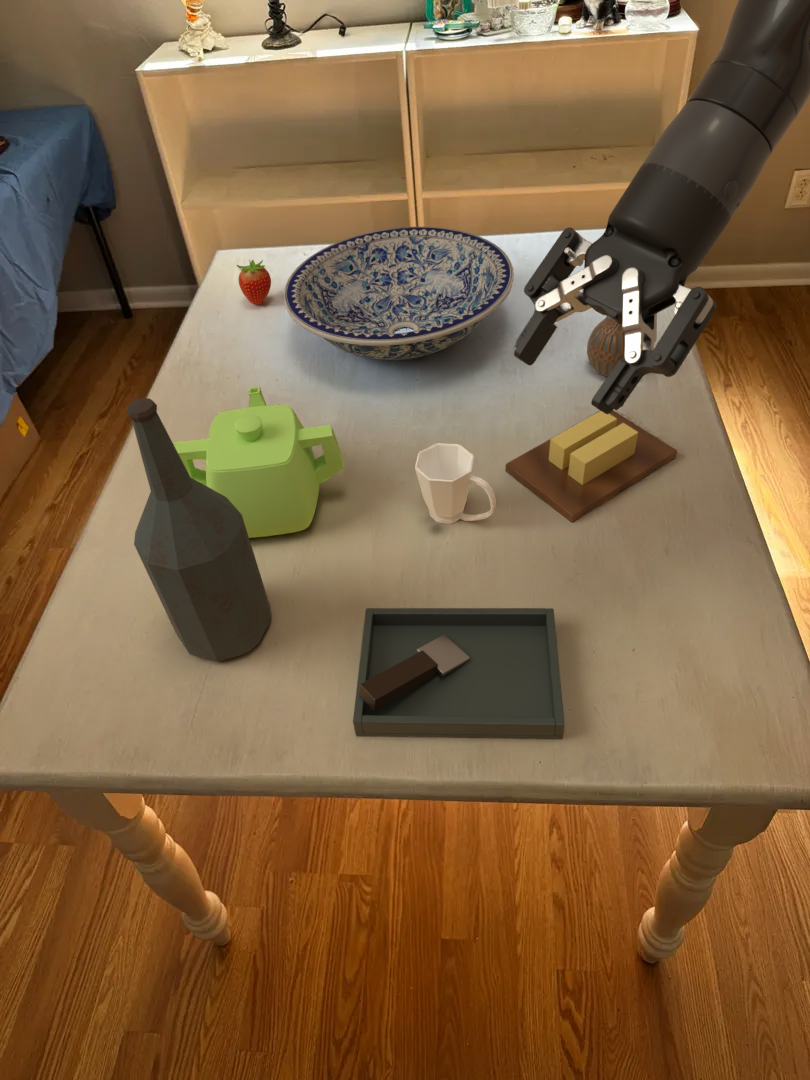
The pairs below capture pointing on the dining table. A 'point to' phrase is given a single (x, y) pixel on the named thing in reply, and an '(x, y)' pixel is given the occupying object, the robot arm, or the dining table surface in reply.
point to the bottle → (196, 551)
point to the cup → (449, 482)
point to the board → (584, 498)
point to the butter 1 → (579, 437)
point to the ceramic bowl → (399, 290)
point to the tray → (466, 674)
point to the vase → (606, 346)
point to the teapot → (265, 464)
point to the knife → (412, 672)
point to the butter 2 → (602, 453)
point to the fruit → (254, 282)
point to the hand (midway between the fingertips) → (558, 384)
